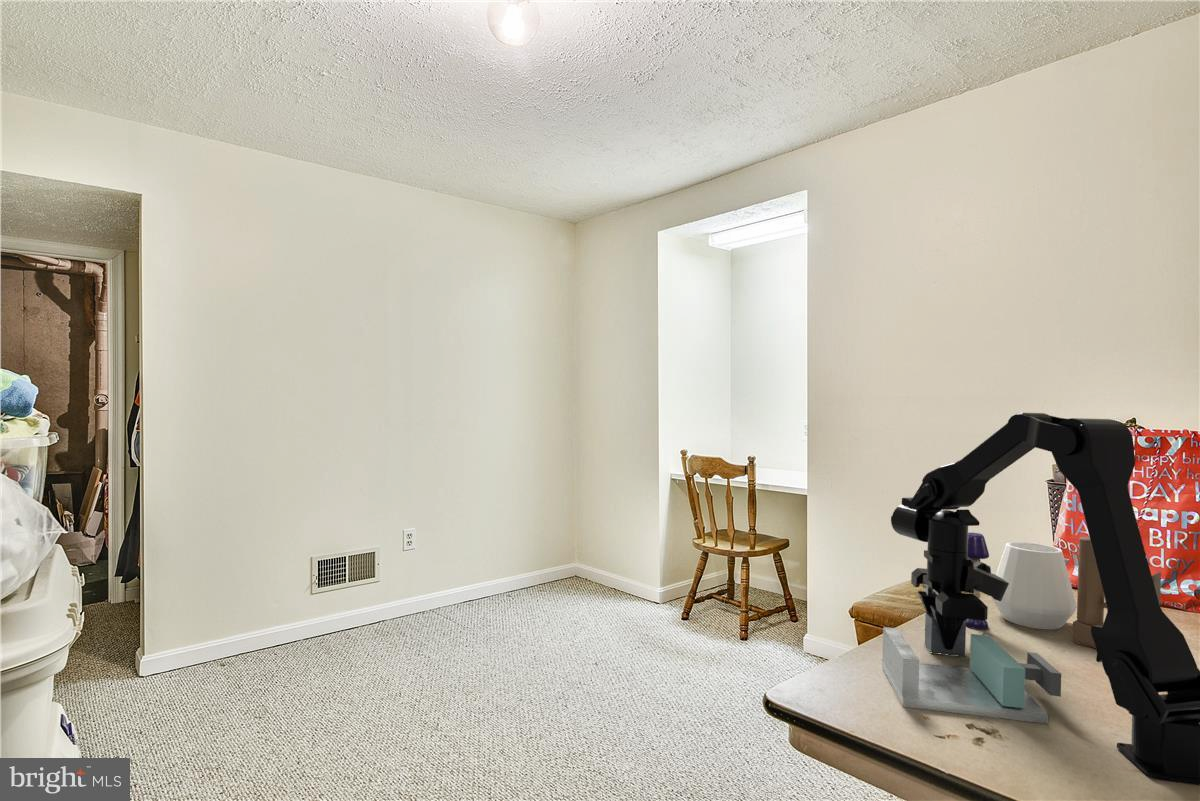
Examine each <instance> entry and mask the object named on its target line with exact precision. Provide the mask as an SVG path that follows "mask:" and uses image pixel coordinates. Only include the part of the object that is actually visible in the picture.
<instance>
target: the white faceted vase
mask: <svg viewBox="0 0 1200 801" xmlns="http://www.w3.org/2000/svg"><path fill="white" fill-rule="evenodd" d="M995 575H996V576H998V577H1000V578H1002V579H1003V580H1005V581H1006V582H1008V583H1009V585H1008V587H1007V589H1006V591H1005V594H1004V596H1003V598H1002V600H1001V601H998V600H995V599H994V598H993V597H991V599H992V601H993V603H994V604H995V606H996V607H997V610H998V611H999V613H1000V614H1001V616H1002V618H1004V619H1005V620H1007V621H1009V622H1010V623H1013V624H1016V625H1020V626H1023V627H1027V628H1032V629H1037V630H1052V631H1053V630H1059V629H1061V628H1063V626H1064V625H1065V624H1066V623H1067V622H1068V621H1069V619H1070V618H1071V617H1072V616H1073V615H1074V613H1076V612H1077V601H1076V597H1075V595H1074V591H1073V587H1072V583H1071V579H1070V577H1069V576H1070V575H1069V572H1068V568H1067V564H1066V560H1065V556H1064V553H1063V550H1062V549H1061V548H1058V547H1056V546H1053V545H1048V544H1044V543H1040V542H1039V543H1038V542H1032V541H1030V542H1029V541H1010V542H1009V541H1008V542H1005V546H1004V550H1003V552H1002V555H1001V557H1000V562H999V563H998V568H997V570H996V573H995Z"/></svg>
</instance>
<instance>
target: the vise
mask: <svg viewBox="0 0 1200 801" xmlns="http://www.w3.org/2000/svg"><path fill="white" fill-rule="evenodd" d="M880 663H881V666H882V667H881V666H880V667H881V669H882V668H883V669H882V671H883V670H884V671H883V672H885V673H884V674H885V676H886V675H887V676H886V678H887V677H888V678H887V680H888V679H889V680H888V682H889V681H890V682H889V684H890V683H891V684H890V686H891V685H892V686H891V687H892V689H893V691H894V693H895V695H896V697H897V699H898V700H899V702H900V704H901V707H904V708H910V709H911V708H912V709H921V710H929V711H937V712H945V713H946V712H947V713H954V714H964V715H971V716H979V717H987V718H996V719H1006V720H1013V721H1021V722H1031V723H1039V724H1048V723H1049V713H1047V712H1046V711H1045V709H1044V708H1043V707H1041V706H1040V704H1039V703H1038V702H1036V700H1035V699H1033V697H1032V696H1031V695H1030V694H1029V693H1028V692H1027V691H1026V690H1025V698H1024V708H1018V707H1009V706H1002V705H1001V703H1000V702H999V701H998V700H997V699H996V698H995V697H994V695H993V694H992V693H991V692H990V691H989V690H988V688H987V687H986V686H985V685H984V684H983V683H982V681H981V680H980V679H979V678H978V677H977V676H976V675H975V673H974V672H973V671H972V670H971V669H970V667H965V666H963V667H962V666H954V665H944V664H935V663H924V662H920V659H919V657H918V655H917V654H916V653H915V651H914V650H913V649H912V647H911V646H910V645H909V643H908V642H907V640H906V639H905V637H904V636H903V634H902V633H901V631H900V630H899V628H896V627H886V626H883V627H882V658H881V662H880Z"/></svg>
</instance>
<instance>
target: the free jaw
mask: <svg viewBox="0 0 1200 801" xmlns="http://www.w3.org/2000/svg"><path fill="white" fill-rule="evenodd" d="M969 643H970V646H969V647H970V649H969V650H970V651H969V668H970V669H971V670H972V671H973V672H974V673H975V675H976V676H977V677H978V678H979V679H980V680H981V681H982V683H983V684H984V685H985V686H986V687H987V688H988V690H989V691H990V692H991V693H992V694H993V695H994V697H995V698H996V699H997V700H998V701H999V702H1000V703H1001V705H1002V706H1009V707H1018V708H1024V698H1025V691H1026V690H1025V689H1026V687H1025V686H1026V681H1035V683H1036V684H1038V685H1039V686H1040V687H1041V688H1042V689H1043V690H1044V691H1045V693H1047V694H1048V695H1049V696H1053V697H1060V698H1061V696H1062V672H1060V671H1059V670H1058V669H1057V668H1055V667H1054V666H1053V665H1052V664H1051V663H1049V661H1047V660H1046V659H1045V658H1044V657H1043V656H1041V655H1040V654H1039V653H1038V652H1030V651H1027V652H1026V653H1027V654H1026V656H1027V657H1026V663H1023V662H1018V661H1017V660H1016V659H1015V658H1014V657H1013V656H1012V655H1011V654H1010V653H1009V652H1008V651H1006V649H1004V648H1003V647H1002V646H1001V645H1000V644H999V643H998V642H997V641H996V640H994V638H993V637H991V635H985V634H976V633H974V634H973V633H971V634H970V642H969Z"/></svg>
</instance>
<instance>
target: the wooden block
mask: <svg viewBox="0 0 1200 801" xmlns="http://www.w3.org/2000/svg"><path fill="white" fill-rule="evenodd" d="M1077 567H1078V569H1077V597H1076V598H1077V601H1076V607H1077V608H1076V620H1075V621H1074V620H1073V621H1072V634H1071V635H1072V636H1071V638H1072V639H1071V640H1072V642H1073V643H1074V644H1077V645H1082V646H1085V647H1089V648H1093V649H1096V645H1095V642H1094V640H1093V637H1092V635H1091V626H1093V625H1103V623H1104V621H1105V618H1104V616H1105V613H1104V612H1105V609H1107V605H1106V601H1105V597H1104V593H1103V589H1102V585H1101V581H1100V577H1099V573H1098V569H1097V565H1096V561H1095V557H1094V553H1093V549H1092V545H1091V541H1090V537H1089V536H1081V537H1079V539H1078V564H1077ZM1151 575H1152V579H1153V583H1154V586H1155V590H1156V594H1157V597H1158V601H1159V605H1160V606H1161V592H1162V590H1161V588H1162V572H1161V571H1159V572H1156V573H1153V574H1151Z"/></svg>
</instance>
